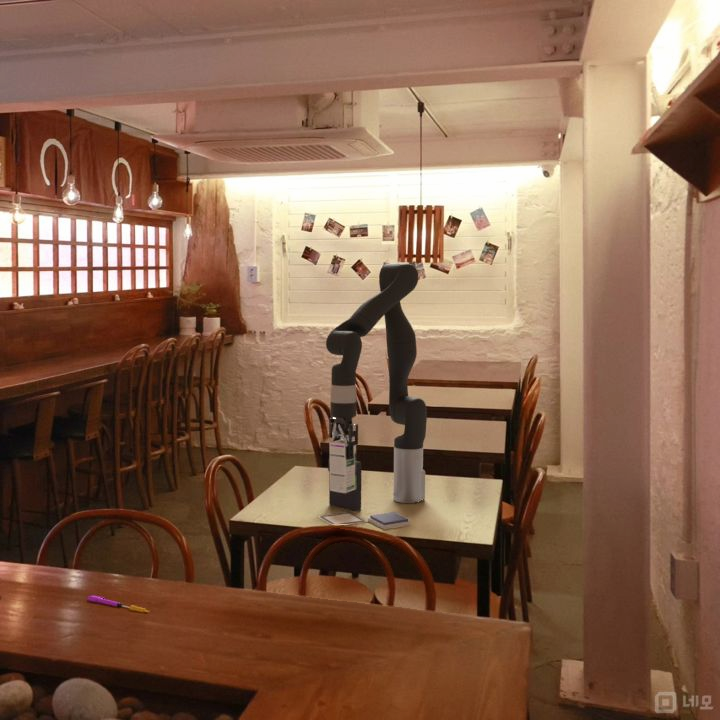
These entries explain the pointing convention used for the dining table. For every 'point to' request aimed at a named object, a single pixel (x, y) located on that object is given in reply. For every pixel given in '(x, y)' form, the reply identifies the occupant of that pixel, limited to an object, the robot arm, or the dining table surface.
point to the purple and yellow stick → (115, 603)
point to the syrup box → (342, 468)
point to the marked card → (342, 518)
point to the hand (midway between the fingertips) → (343, 456)
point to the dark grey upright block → (348, 499)
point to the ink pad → (389, 520)
